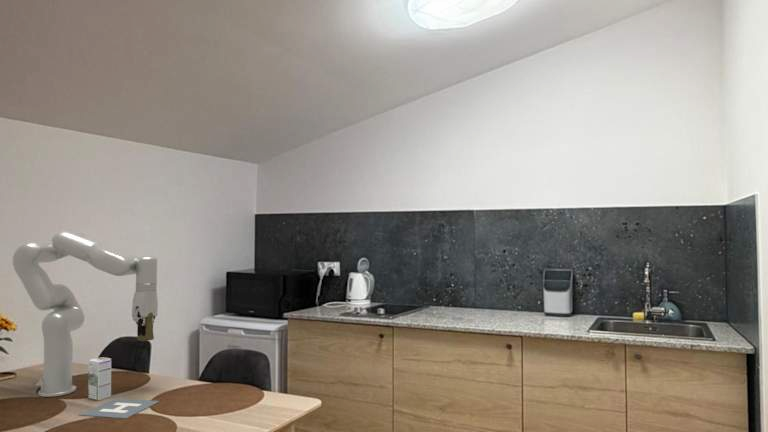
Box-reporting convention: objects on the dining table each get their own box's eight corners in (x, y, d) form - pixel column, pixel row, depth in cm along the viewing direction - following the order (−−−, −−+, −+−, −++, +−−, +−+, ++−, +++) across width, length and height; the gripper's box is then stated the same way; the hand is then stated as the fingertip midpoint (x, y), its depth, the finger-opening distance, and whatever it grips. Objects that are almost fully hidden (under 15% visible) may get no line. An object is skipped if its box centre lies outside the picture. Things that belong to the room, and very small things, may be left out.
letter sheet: (78, 415, 175) (78, 414, 175) (115, 398, 192) (115, 398, 192) (126, 418, 171) (126, 417, 171) (159, 401, 189) (159, 401, 189)
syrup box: (111, 396, 195) (112, 357, 196) (97, 401, 190) (98, 361, 190) (101, 394, 197) (102, 356, 198) (86, 399, 192) (87, 359, 193)
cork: (147, 341, 200) (148, 312, 200) (133, 340, 201) (134, 312, 201) (157, 338, 206) (157, 310, 206) (143, 337, 207) (144, 309, 207)
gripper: (151, 285, 213) (150, 330, 212) (123, 289, 196) (122, 338, 196) (167, 286, 211) (166, 331, 210) (140, 290, 195) (139, 339, 194)
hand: (145, 334), depth 203 cm, fingers closed on cork, 3 cm apart
